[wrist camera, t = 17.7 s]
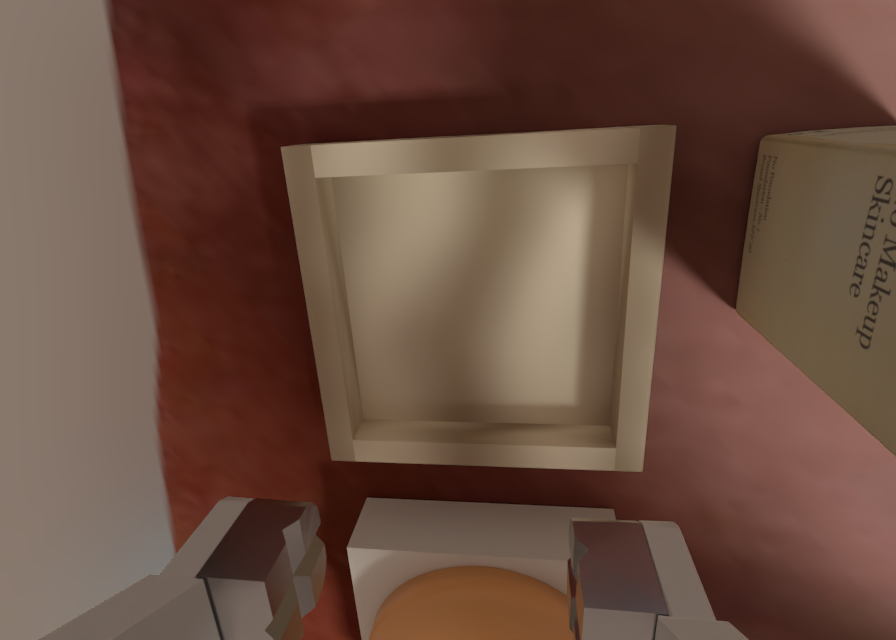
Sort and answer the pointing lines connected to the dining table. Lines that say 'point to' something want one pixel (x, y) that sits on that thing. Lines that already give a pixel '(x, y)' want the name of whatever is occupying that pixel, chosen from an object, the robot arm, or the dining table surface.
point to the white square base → (455, 543)
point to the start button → (473, 607)
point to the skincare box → (828, 264)
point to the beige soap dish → (485, 293)
